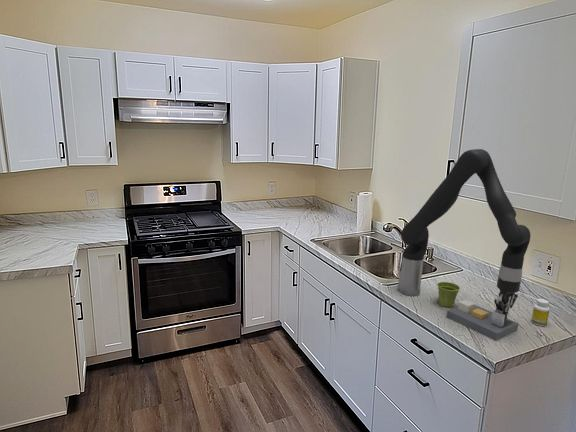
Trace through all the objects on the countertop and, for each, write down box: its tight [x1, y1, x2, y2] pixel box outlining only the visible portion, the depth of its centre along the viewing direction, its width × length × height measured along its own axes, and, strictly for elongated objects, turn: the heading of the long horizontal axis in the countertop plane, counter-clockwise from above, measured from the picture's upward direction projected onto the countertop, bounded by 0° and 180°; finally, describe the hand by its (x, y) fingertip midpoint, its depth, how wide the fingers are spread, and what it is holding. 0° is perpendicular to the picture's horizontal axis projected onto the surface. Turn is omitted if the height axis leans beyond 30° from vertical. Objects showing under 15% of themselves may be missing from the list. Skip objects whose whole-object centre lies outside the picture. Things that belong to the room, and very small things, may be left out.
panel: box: [446, 304, 520, 342], centre depth 157 cm, size 21×15×3 cm
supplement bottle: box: [530, 298, 550, 327], centre depth 158 cm, size 5×5×10 cm
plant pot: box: [436, 281, 461, 308], centre depth 172 cm, size 9×9×9 cm
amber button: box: [471, 308, 489, 320], centre depth 157 cm, size 4×4×4 cm
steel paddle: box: [491, 307, 505, 327], centre depth 149 cm, size 4×2×6 cm, turn 33°
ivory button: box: [457, 299, 476, 313], centre depth 162 cm, size 4×4×4 cm
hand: (502, 319), depth 152 cm, fingers closed
